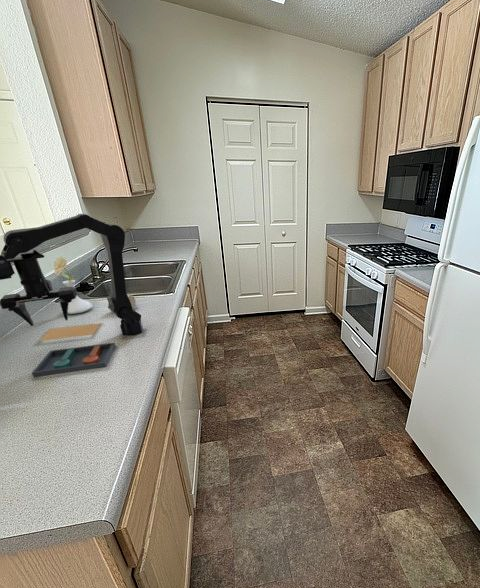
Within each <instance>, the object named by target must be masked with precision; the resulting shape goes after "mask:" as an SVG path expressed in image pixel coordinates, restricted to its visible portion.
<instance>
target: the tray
mask: <svg viewBox="0 0 480 588" xmlns="http://www.w3.org/2000/svg"><path fill="white" fill-rule="evenodd" d="M94 346H101V349H102V352H101V353H100V355H99V360H100V362H99V363H92V364H83V361H82V360H83V359H84V358H86V357H88V356H89V355H90V353H91V351H92V350H93V348H94ZM116 347H117V345H116V342H108V343H101V344H93V345H92V344H91V345H85V346H77V347H69V348H61V349H60V348H59V349H54V350H53V349H52V350H50V351H49V352H48V353H47V354H46V355H45V357H44V358H42V360H41V361H40V362H39V363H38V365H37V366H36V367H35V368H34V369H33V371H32V372H31V375H32V377H33V378H39V377H46V376H52V375H59V374H67V373H74V372H80V371H88V370H95V369H103V368H106V367H107V366H108V364H109V362H110V359H111V358H112V356H113V353H114V352H115V350H116ZM69 349H74V351H75V356H74V357H73V359H72V360H71V364H72V366H70V367H63V368H54V366H53V364H54V363H55V362H57V361H59V360H60V359H61V358H62V357H63V355H64V354H65V353H66V351H67V350H69Z"/></svg>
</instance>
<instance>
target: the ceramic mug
mask: <svg viewBox="0 0 480 588" xmlns="http://www.w3.org/2000/svg"><path fill="white" fill-rule="evenodd" d="M127 295H128V298H129V300H130V302H131V305H132V308H133V310H135V309H136V305H137V304H136V299H135V296H134V295H132V294H127Z"/></svg>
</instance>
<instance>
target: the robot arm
mask: <svg viewBox="0 0 480 588" xmlns="http://www.w3.org/2000/svg"><path fill="white" fill-rule="evenodd" d="M84 229H87V230H90V231H91V232H94V233H97V234H99V235H100V237H101V240H102V243H103V245H104V247H105V250H106V252H107V258H108V266H109V274H110V283H111V291H112V293H111V297H110V296H109V297H108V296H107V297H106V300H107V303H108V306H107V308H108V309H109V310H110V312H111V313H112V314H113V315H114V316H115V317H117V318H119V319H120V325H119V328H120V330H121V335H122V336H128V337H132V336H137V335H140V334H143V332H144V327H143V323H142V314H140V313H139V312H138V311H136V310H135V309H134V310H133V308H132V305H131V302H130V300H129V298H128V295H129V294H128V293H127V285H126V276H125V267H124V257H123V251H124V248H125V243H126V232H125V230H124V229H123V228H122V227H121V226H119V225H117V224H113V223H105V222H103V221H101V220H99V219H97V218H94V217H91V216H90V215H89V214H86V213H78V214H76V215H73V216H70V217H68V218H64V219H61V220H58V221H54V222H51V223H47V224H44V225H41V226H38V227H29V228H19V229H11V230H8V231H6V232H5V233H4V234H3V242H4V245H3V247H2V250H1V252H0V281H2V280H8V279H12V276H14V275H15V274H16V273H15V270H16V272H17V275H18V277H19V279H20V281H19V282H20V285H21V286H22V287H23V290H24V292H25V295H21V294H20V293H17V292H16V293H10V294H4V295H3V296H2V297H1V298H0V309H1V310H6V309H7V311H8V312H13V313H15V314H16V315H18V316H19V317H20V318H21V319H23V320H24V321H25V322H27V323H28V325H30V326H32V327H33V326H35V325H34V324H35V323H34V321H33V319H32V316H31V314H30V313H29V311H28V309H27V306H26V303H28V302H35V301H36V302H37V301H44V300H50V299H59V300H60V301H59V304H60V308H61V311H62V314H63V318H64V319H65V321H69V317H68V316H69V313H68V304H69V302H71V301H72V299H75V298H76V295H77V296H78V293H77V289H76V288H74V287H75V286H74V287H66V286H65V287H59V289H58V291H54V290H53V289H54V288H53V286H52V282H51V280H50V279H47V278H46V276H45V274H44V273H43V270H42V268H41V265H40V263H39V260H38V259H43V258H45V255H44V254H43V253H41V252H39V251H37V249H36V248H38V247H39V246H41V244H43V243H45V242H47V241H49V240H52V239H55V238H59V237H63V236H65V235H68V234H72V233H74V232H77V231H81V230H84ZM30 251H31V252H30ZM19 255H20V256H19ZM18 256H19V257H18ZM12 264H13V265H14V267H13V265H12ZM14 268H15V270H14Z"/></svg>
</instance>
